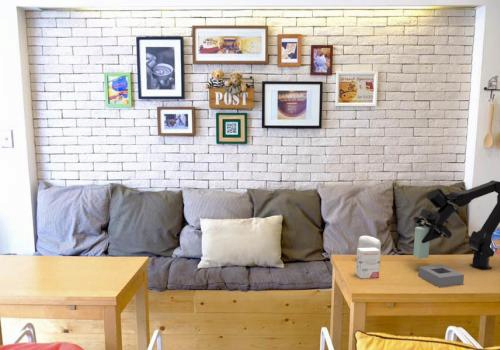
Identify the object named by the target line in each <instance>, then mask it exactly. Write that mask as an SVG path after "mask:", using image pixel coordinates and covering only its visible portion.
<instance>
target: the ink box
mask: <svg viewBox="0 0 500 350" xmlns="http://www.w3.org/2000/svg"><path fill="white" fill-rule="evenodd" d="M355 260H356V261H355V263H356V265H355V275H356V277H358V278H359V279H370V278H371V279H372V278H373V279H374V278H375V279H376V277H378V278H379V277H380V265H381V264H380V263H381V249H380V250H378V249H377V248H358V247H357V248H356V259H355Z"/></svg>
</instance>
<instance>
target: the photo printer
mask: <svg viewBox="0 0 500 350" xmlns="http://www.w3.org/2000/svg"><path fill="white" fill-rule="evenodd" d="M381 245H382V242H381V240H380V239H378V238H376V237H373V236H371V235H361V236H359V238H358V245H357V248H377V249H378V250H380V251H381V249H382V248H381V247H382V246H381Z"/></svg>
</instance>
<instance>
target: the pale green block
mask: <svg viewBox="0 0 500 350" xmlns="http://www.w3.org/2000/svg"><path fill="white" fill-rule="evenodd" d="M428 232H429V228H428V227H425V226H424V227H418V226H416V227H414V242H413V255H412V256H413V257H414V258H416V259H419V260H420V259H428V258H429V256H430V255H429V254H430V242H431V241H428V242H426V243H422V240H423V239H424V237H425V236H426V235H427V233H428Z"/></svg>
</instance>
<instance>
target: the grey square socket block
mask: <svg viewBox="0 0 500 350" xmlns="http://www.w3.org/2000/svg"><path fill="white" fill-rule="evenodd" d="M417 276H418V277H419V278H421V279H423V280H425V281H427V282H429V283H430V284H432V285H434V286H436V287H437V288H444V287H452V286H461V285H464V280H465V274H464V273H461V272H460V271H457V270H455V269H453V268H450V267H449V266H446V265H444V264H442V263H441V264H435V265H434V264H431V265H424V266H418V273H417Z"/></svg>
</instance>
